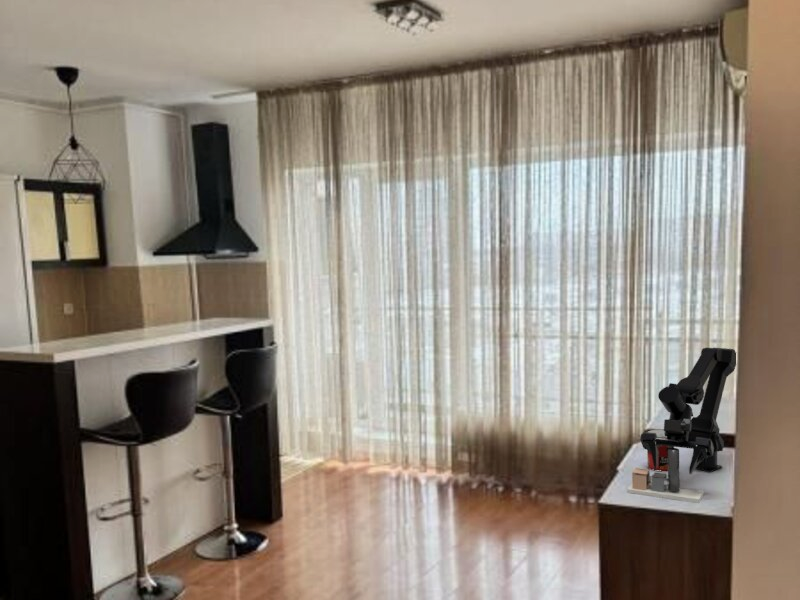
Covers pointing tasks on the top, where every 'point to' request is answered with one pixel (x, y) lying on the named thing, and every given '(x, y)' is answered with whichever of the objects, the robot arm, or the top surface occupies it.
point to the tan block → (640, 478)
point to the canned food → (659, 453)
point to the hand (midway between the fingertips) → (672, 471)
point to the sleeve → (658, 482)
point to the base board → (670, 494)
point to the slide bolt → (671, 471)
